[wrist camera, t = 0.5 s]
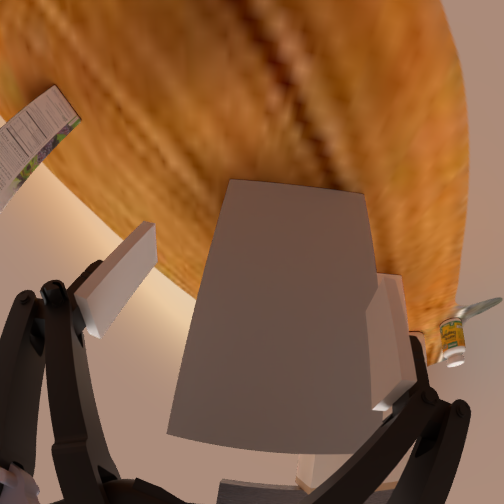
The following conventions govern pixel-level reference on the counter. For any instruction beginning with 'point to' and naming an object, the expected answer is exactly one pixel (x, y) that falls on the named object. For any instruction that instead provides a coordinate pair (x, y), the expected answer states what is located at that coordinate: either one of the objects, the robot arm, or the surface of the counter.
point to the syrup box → (32, 139)
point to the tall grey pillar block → (282, 325)
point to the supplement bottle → (453, 341)
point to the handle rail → (275, 494)
